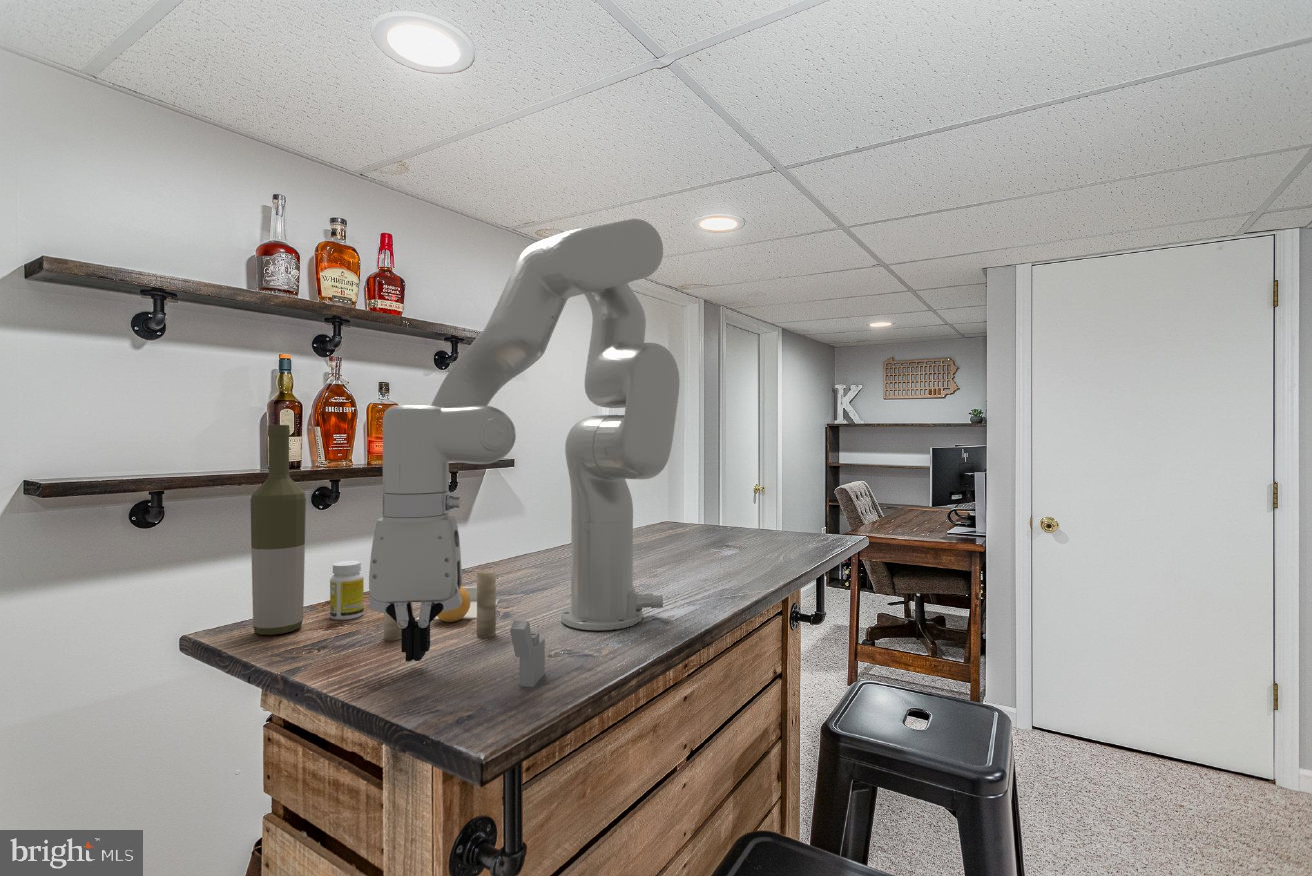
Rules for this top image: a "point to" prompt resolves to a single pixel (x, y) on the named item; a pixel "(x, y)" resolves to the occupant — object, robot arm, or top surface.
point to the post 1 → (391, 629)
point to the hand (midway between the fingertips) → (415, 657)
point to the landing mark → (471, 612)
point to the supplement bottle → (346, 591)
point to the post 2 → (486, 603)
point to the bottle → (278, 543)
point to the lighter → (528, 653)
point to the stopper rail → (472, 592)
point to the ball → (458, 612)
